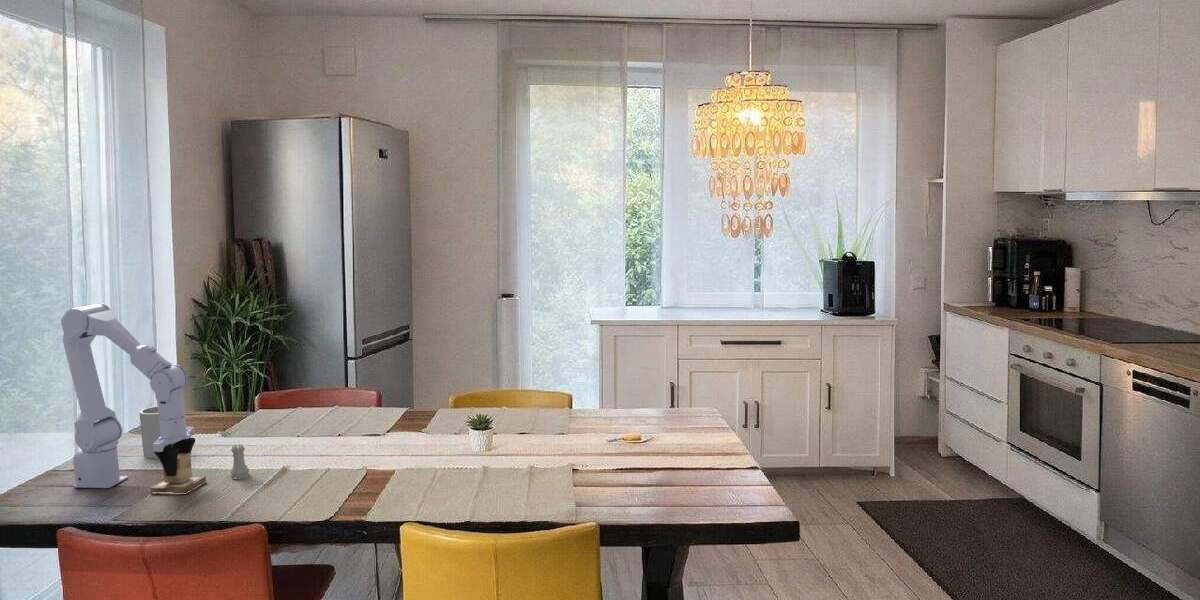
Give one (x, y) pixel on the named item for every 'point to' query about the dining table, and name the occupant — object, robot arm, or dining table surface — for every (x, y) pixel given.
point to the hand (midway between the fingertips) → (177, 472)
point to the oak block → (180, 469)
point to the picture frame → (179, 485)
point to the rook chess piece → (239, 462)
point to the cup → (149, 430)
